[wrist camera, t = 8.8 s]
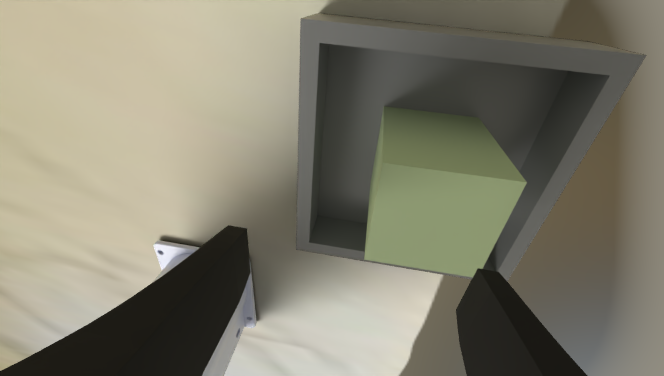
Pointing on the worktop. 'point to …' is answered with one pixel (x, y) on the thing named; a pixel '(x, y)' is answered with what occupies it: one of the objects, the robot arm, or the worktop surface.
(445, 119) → the light green block
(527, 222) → the bin
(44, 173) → the worktop surface
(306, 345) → the worktop surface
